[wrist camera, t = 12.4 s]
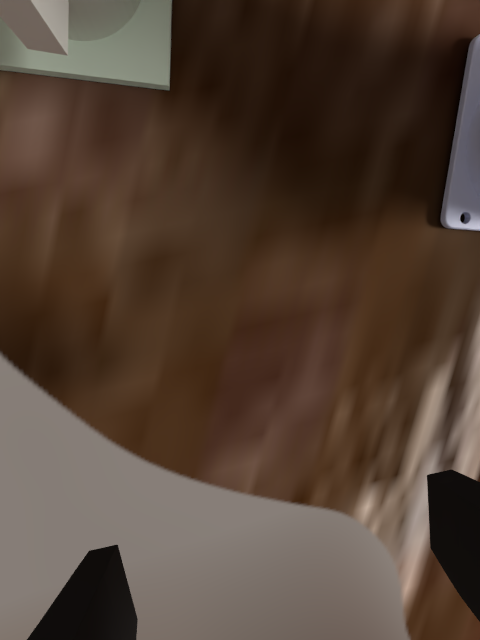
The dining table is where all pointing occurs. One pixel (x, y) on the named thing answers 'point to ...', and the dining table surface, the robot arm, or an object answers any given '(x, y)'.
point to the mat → (104, 52)
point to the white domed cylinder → (64, 21)
